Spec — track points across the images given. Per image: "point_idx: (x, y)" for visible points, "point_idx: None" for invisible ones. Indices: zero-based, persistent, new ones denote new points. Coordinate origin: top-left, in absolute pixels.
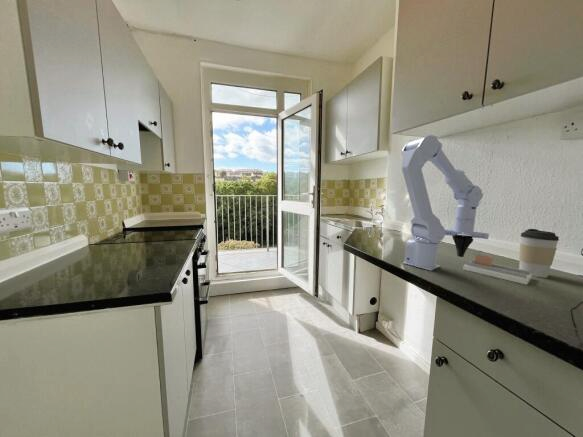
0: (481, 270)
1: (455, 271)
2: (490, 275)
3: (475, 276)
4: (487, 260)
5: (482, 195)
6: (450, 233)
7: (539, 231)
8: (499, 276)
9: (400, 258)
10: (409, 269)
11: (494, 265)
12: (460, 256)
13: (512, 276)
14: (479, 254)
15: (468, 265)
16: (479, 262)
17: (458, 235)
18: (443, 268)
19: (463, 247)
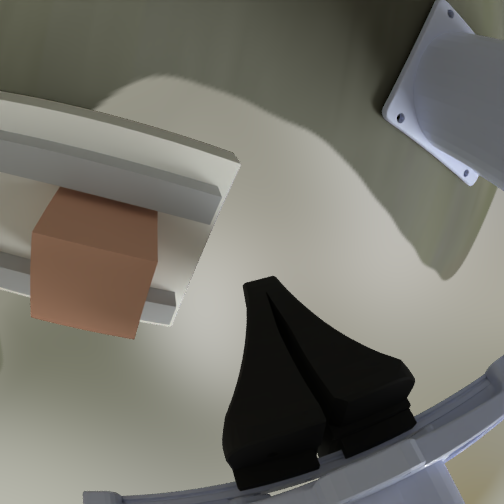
0: (114, 123)
1: (298, 56)
2: (63, 104)
3: (173, 4)
4: (60, 223)
5: None
6: (447, 421)
7: None
8: (14, 97)
9: (496, 186)
10: (498, 3)
11: None
12: (265, 278)
13: None
14: (129, 333)
15: (202, 182)
16: (124, 218)
17: (385, 438)
18: (362, 93)
19: (281, 339)
